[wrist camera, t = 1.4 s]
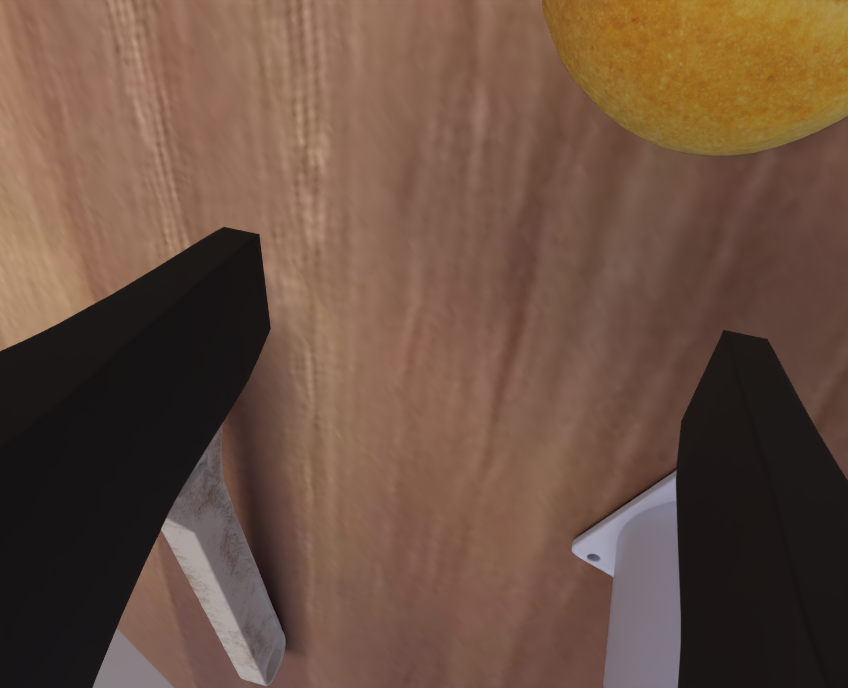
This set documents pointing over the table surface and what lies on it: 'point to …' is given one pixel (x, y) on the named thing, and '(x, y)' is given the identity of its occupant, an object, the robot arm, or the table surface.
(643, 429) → the table surface
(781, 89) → the bread roll
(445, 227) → the table surface
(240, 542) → the wrench
